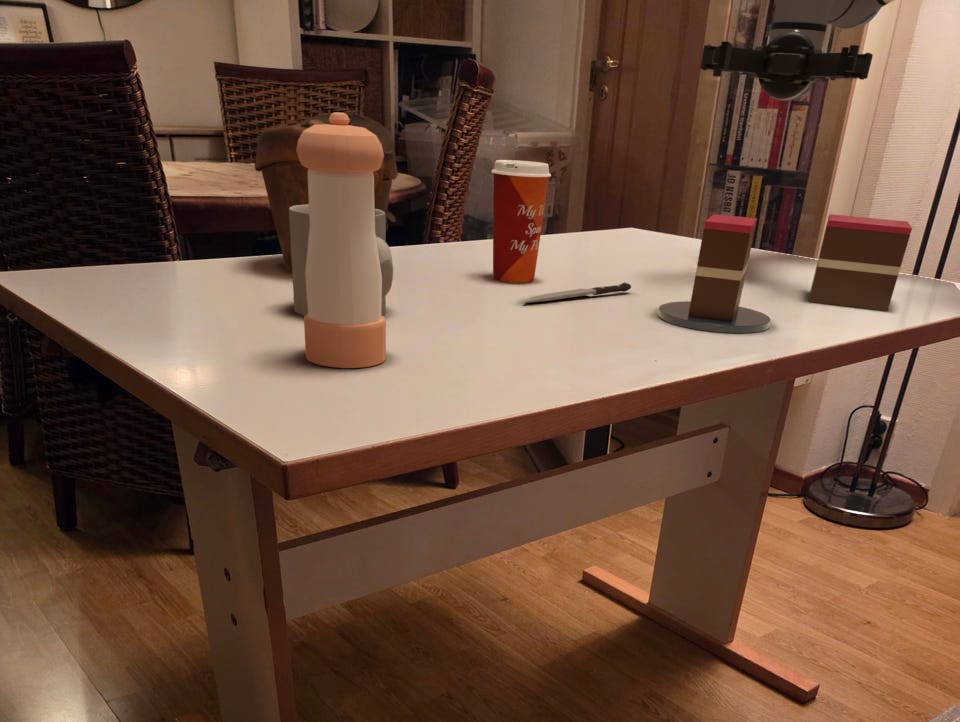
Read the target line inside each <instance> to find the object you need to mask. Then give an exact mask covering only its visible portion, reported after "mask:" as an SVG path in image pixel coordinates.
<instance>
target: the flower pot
mask: <svg viewBox="0 0 960 722" xmlns="http://www.w3.org/2000/svg"><path fill="white" fill-rule="evenodd" d="M332 113H333V112H330V113H322V114H319V115H316V116H312V117H309V118H307V119H303V121H301V122H298V123H296V124H292V125H283V126H276V127H272V128H268V129H266V130H264V131H262V132H261V133H260V134H259V137H258V138H257V145H256V153H255V158H254V169H255V171H257V172H261V175H262V178H263V183H264V187H265V191H266V196H267V198H268V203H269V207H270V210H271V216H272V220H273V222H274V227H275V231H276V235H277V238H278V242H279V246H280V250H281V254H282V259H283V264H284V267H286V269H288V270H289V271H291V272H292V257H291V239H290V221H289V208H290V207H292V206H296V205H305V204H309V195H308V170H309V169H308V168H306V167H304V166H302V164H301V162H300V160H299V157H298V154H297V151H296V149H297V144H298V140H299V138H300V136H301V134H302V132H303V131H304V130H306V129H308V128H310V127H311V126H313V125H323V124H331V122H330V120H329V118H330V115H331V114H332ZM339 113H343V112H339ZM344 113H345V114H346V115H348V117H349V119H350V121H349V123H348V125H350V126H356V127H363V128H365V129H367V130H368V131H370V132H372V133H373V134H375V135H376V136H377V138H378V140H379V141H380V143H381V145H382V149H383V153H384V158H383V161H382V164H381V167H380V169H378V170H376V171H374V172H373V175H374V204H375V209H379V210H382V211H384V212H385V216H386V232H387V231H388V229H389V223H388V220H389V221H390V222H392V223H396V222H397V221H396V217H395V215H394V214H393V213H391V212H390V211H389V201H390V194H391V188H392V184H393V181H395V180H396V179H397V177H398V174H399V173H398V166H397V162H396V156H395V155H396V154H395V149H394V148H395V147H394V140H393V136H392V134H391V133H390V131H389V130H388V129H387V128H386V127H384V126H383V125H382V124H381V123H380V122H378V121H376V120H375V119H372V118H370V117H367V116H365V115H362V114H358V113H353V112H352V113H351V112H344Z"/></svg>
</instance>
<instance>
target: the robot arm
mask: <svg viewBox="0 0 960 722" xmlns="http://www.w3.org/2000/svg"><path fill="white" fill-rule="evenodd" d="M894 1H895V0H776V2H775V3H776V4H775V9H774V14H773V20H772V25H771V30H770V35H769V40H768V44H766V45H757V46H755V48H754V49H753V48H752V49H750V48H743V47H734V45H733V44H732V43H731V42H729V41H727V40H726V41H725V40H724V41H723V40H722V41H721V44H720V45H717V46H716V45H712V44H709V43H708V44H705V45H703V48H702V55H701V60H700V66H699V67H700V70H702V71H709V70H710V71H713V72H712V77H714V78H715V77H718V78H720V77H722V72H725V73H730V74H731V73H732V74H734V75H739V74H743V73H747V74H748V73H749V76H750V78H752V79H758V83H759V85H760V87H761V89H762V90H763V92H765V94H767V95H768V96H770V97H771V98H772V99H775V100H777V101H783V102H788V101H789V102H792V101H795V100H797V99H799V98H801V97H802V96H804V95H805V94H806V93H808V92H809V91H810V89H811V88H812V86H813V84H814V83H815V82H816V80H817V78H825V79H829V80H831V81H836V80H840V79H841V80H843V79H844V80H845V79H847V80H849V79H850V80H851V79H858V80H867V79H868V77H869V73H870V69H871V65H872V60H873V56H874V54H873V53H871V52H865V53H859V50H860V45H858V44H851V45H849V46H848V47H847V46H842V48H841V51H840V52H823V45H824V41H825V36H826V32H827V28H828V25H832V26H834V27H837V28H840V29H844V30H845V29H846V30H847V29H852V28H853V29H855V28H860V27H864V26H865V25H866V24H868V23H870V22H871V21H872V20H874V18H875V17H876V16H877V14H878V13H879V12H880V10H881V9H882V8H883V7H884V6H886V5H889V4H890V3H893V2H894Z"/></svg>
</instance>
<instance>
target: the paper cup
mask: <svg viewBox="0 0 960 722" xmlns="http://www.w3.org/2000/svg"><path fill="white" fill-rule="evenodd" d="M490 172H491V173H492V174H493V196H492V197H493V201H492V202H493V206H492V208H493V209H492V213H493V214H492V276H493V280H495V281H498V282H502V283H509V284H531V283H533V282H534V281H535V276H536V269H537V263H538V255H539V251H540V250H539V249H540V242H541V236H542V235H541V234H542V227H543V221H544V213H545V205H546V197H547V191H548V183H549V178H550V177H552V174H551V173H550V168H549V164H548V163H547V162H546V163H545V162H541V161H530V160H515V159H497V160H495V161H494V167H493V169H491V171H490Z"/></svg>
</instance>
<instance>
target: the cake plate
mask: <svg viewBox="0 0 960 722" xmlns="http://www.w3.org/2000/svg"><path fill="white" fill-rule="evenodd" d="M690 303H691V300H690V301H688V300H686V301H684V300H683V301H671V302H667V303H663V304H660V305H659V306H658V310H657V316H658V318H660V319H661V320H663V321H664V322H667V323H669V324H672V325H676V326H679V327H682V328H687V329H691V330H697V331H705V332H713V333H723V334H725V333H726V334H752V333H760V332H763V331H766V330H768V329H769V328H770V326H771V317H770V316H768V314H766V313H763V312H761V311H758V310H755V309H751V308H747V307H743V306H739V309H738V311H737V313H736V315H735V317H734V319H733V321H732V322H728V321H720V320H712V319H705V318H697V317H689V316H688V314H689V309H690Z"/></svg>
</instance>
